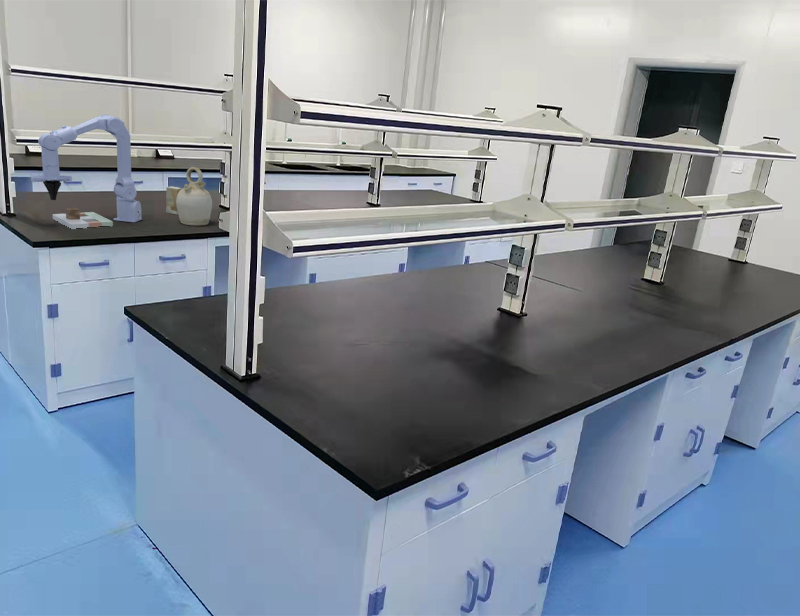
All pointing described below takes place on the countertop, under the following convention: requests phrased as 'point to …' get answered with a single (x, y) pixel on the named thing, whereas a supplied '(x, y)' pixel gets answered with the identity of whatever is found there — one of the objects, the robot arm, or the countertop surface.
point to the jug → (194, 201)
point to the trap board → (83, 220)
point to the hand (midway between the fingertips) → (53, 199)
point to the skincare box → (172, 199)
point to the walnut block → (72, 213)
